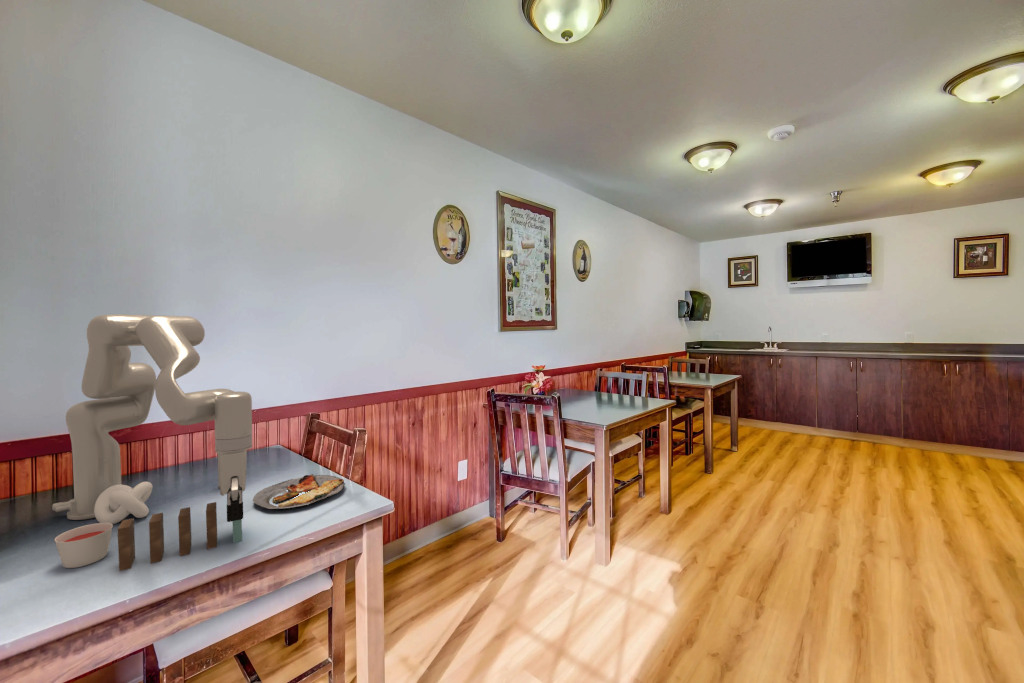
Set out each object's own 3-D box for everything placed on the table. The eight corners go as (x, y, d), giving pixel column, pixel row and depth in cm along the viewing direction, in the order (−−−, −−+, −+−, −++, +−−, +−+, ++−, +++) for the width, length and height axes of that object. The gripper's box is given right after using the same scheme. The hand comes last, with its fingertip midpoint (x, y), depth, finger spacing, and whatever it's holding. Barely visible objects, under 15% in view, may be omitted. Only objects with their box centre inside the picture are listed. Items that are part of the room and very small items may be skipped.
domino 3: (179, 556, 93) (178, 516, 93) (181, 546, 97) (180, 508, 97) (189, 553, 94) (188, 514, 94) (191, 544, 98) (190, 507, 98)
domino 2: (150, 563, 91) (148, 522, 90) (154, 553, 95) (152, 514, 94) (161, 560, 92) (159, 520, 91) (164, 551, 96) (162, 512, 95)
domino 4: (207, 549, 96) (205, 511, 96) (208, 540, 100) (206, 503, 100) (216, 547, 97) (215, 509, 97) (217, 538, 101) (216, 501, 101)
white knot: (164, 514, 115) (163, 482, 115) (106, 533, 105) (104, 498, 104) (147, 506, 121) (146, 476, 121) (90, 523, 110) (89, 490, 110)
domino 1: (119, 571, 88) (117, 529, 88) (124, 560, 92) (122, 520, 92) (130, 568, 89) (129, 526, 89) (135, 557, 93) (133, 518, 93)
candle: (124, 548, 97) (123, 522, 97) (86, 571, 88) (85, 541, 88) (85, 550, 97) (84, 523, 96) (42, 572, 88) (41, 542, 88)
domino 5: (233, 542, 99) (231, 505, 99) (233, 534, 103) (232, 498, 103) (242, 540, 100) (240, 503, 100) (242, 532, 104) (240, 497, 104)
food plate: (315, 476, 144) (315, 466, 144) (360, 489, 132) (360, 478, 132) (237, 504, 123) (237, 493, 122) (283, 523, 111) (282, 510, 110)
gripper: (216, 437, 106) (217, 503, 107) (213, 454, 92) (214, 531, 92) (250, 433, 110) (251, 496, 111) (253, 449, 96) (254, 522, 96)
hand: (235, 512), depth 102 cm, fingers open, 9 cm apart
